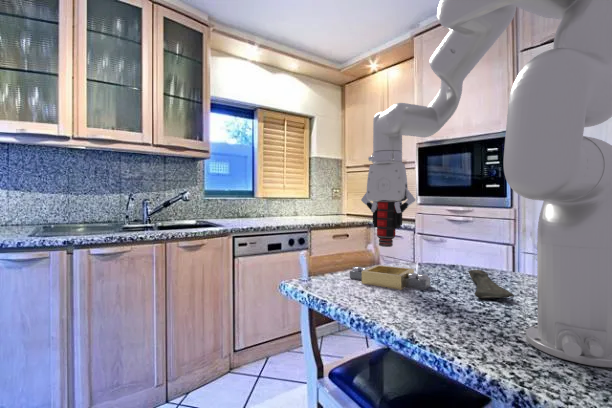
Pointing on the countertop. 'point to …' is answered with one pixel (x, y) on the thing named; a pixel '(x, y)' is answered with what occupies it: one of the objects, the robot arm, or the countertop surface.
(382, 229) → the grenade
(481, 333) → the countertop surface
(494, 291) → the tool
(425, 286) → the chain joint
